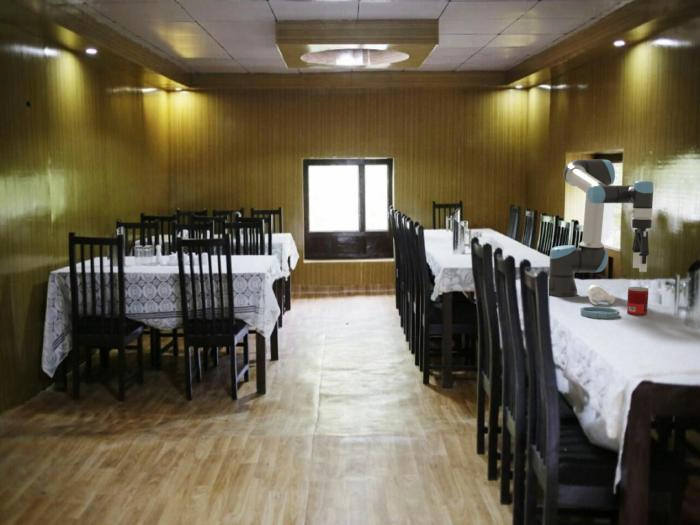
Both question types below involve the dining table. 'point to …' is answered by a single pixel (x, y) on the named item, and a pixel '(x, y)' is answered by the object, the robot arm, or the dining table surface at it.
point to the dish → (599, 312)
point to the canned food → (637, 301)
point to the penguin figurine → (599, 295)
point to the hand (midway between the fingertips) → (639, 269)
